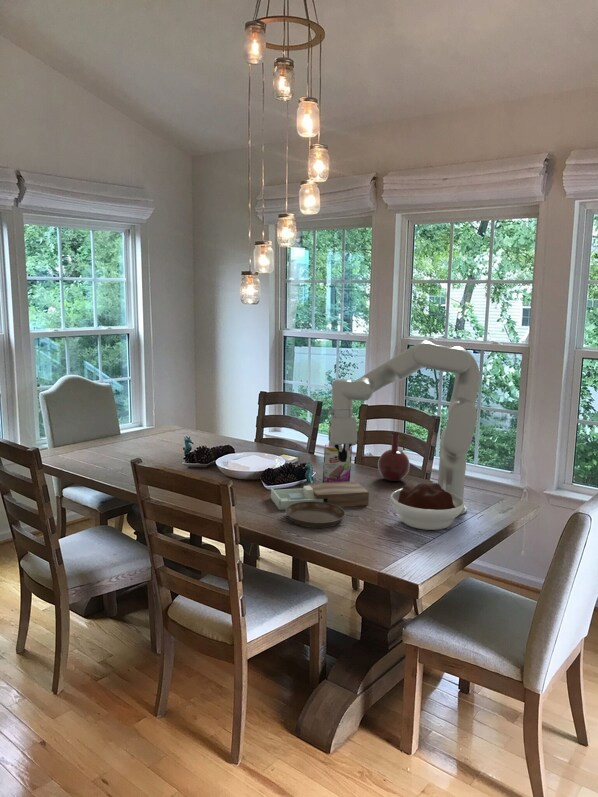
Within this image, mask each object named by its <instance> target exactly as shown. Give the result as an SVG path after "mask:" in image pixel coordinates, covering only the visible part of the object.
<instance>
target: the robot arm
mask: <svg viewBox="0 0 598 797" xmlns="http://www.w3.org/2000/svg"><path fill="white" fill-rule="evenodd" d="M423 368H427V369H431V370H435V371H441V372H445V373H451V374H454V384H453V390H452V394H451V397H450V401H449V404H448V407H447V408H448V409H447V412H448V418H447V422H446V426H445V427H444V428H443V430H442V431H441V435H440V438H439V439H440V440H439V441H440V442H439V443H440V444H439V445H440V446H439V461H438V462H439V463H438V474H437V483H438V484H439V485H440V486H441V488H442V489H443V490H445V491H447V492H451V493H453V494H456V495H458V496H459V497H461V498H462V499H463V500H464V495H465V494H464V493H465V481H466V470H467V469H466V468H467V454H468V451H469V450H470V448H471V445H472V441H473V437H474V433H475V429H476V425H477V419H478V412H477V411H478V410H477V408H476V402H477V397H478V390H479V386H480V376H481V375H480V368H479V365H478V363H477V360H476V359H475V357H474V356H473V355H472V354H471V353H470V352H469V351H468V350H467V349H465V348H464V347H462V346H453V347H448V346H444V345H438V344H435V343H433V342H432V341H429V340H422V341H419V342H418V343H416V344H414V345H412V346H410V347H409V348H407V349H406V350H404V351H402V352H401V353H399V354H398V355H396V356H394V357H392V358H390V359H389V360H387V361H385V362H384V363H383V364H381V365H379V366H377V367H375V368H374V369H372V370H371V371H369V372H367V373H366V374H364V375H363V376H360V377H359V378H358V379H357V380H356V381H355V380H354V381H352V380H350V379H347V378H346V379H345V378H339V379H335V380H333V382H332V383H331V393H332V394H331V399H332V400H331V402H332V404H331V406H332V408H331V410H329V411H328V414H329V415H331V416H330V417H329V418H330V419H329V424H328V441H329V442H328V445H329V446H330V447H335V448H336V449H337V450H338V459H339V460H340V461H341V462H346V459H347V451H348V449H349V448H350V447H351V446H352V447H353V446H356V445H357V442H358V429H357V428H358V427H357V420H356V416H355V415H353V413H354V412H353V410H354V408H353V407H354V406H353V404H354V401H359V402H366V401H368V400H370V399H371V398H372V396H373V393H376V392H377V391H378V390H379V391H380V389H382V388H384V387H385V386H387V385H390V384H393V383H395V382H400V381H402V380H404V379H406V378H408V377H410V376H411V375H413V374H414V373H417V372H418V371H419V370H421V369H423ZM342 446H343V450H342ZM467 510H468V509H467V506H466V505H465V504H464V509H463V510H462V512H461V513H460V514H459V515H462V514H466V513H467Z"/></svg>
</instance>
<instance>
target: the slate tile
mask: <svg viewBox="0 0 598 797" xmlns="http://www.w3.org/2000/svg"><path fill="white" fill-rule="evenodd" d="M303 499H304V496H303V495H302V494H301V493H292V494H288V500H303Z"/></svg>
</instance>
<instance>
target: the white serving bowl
mask: <svg viewBox="0 0 598 797" xmlns="http://www.w3.org/2000/svg"><path fill="white" fill-rule="evenodd" d="M389 501H390V503H391V505H392V508H393V509H394V510H395V511H396V513H397V514H398V517H399V520H400V522H402V523H404V524H405V525H407V526H409V527H412V528H415V529H421V530H426V531H437V530H443V529H446V528H448V527H451V525H452V524H453V523H454V521H455V519H456V518H457V517H458V516H460V515H461V514H460V513H461V512H462V510H463V509H464V505H465V501H464V498H463V499H462V498H461V497H459V496H458V495H456V494H453V493H451V492H447V491H445V490H443V489H442V488H441V486H440V485H439V484H438V482H435V483H434V482H432V483H426V482H420V483H418V484H417V485H414V484H410V483H409V484H406V485H403V487H402V488H400V489H397V490H395V491H393V492H392V493H391V495H390V498H389Z"/></svg>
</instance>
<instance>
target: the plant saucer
mask: <svg viewBox="0 0 598 797" xmlns="http://www.w3.org/2000/svg"><path fill="white" fill-rule="evenodd" d="M285 513H286V515H287V516H288V518H289V519H290V520H291V522H293V523H295V524H296V525H298V524H299V525H298V526H301V527H305V526H306V528H311V527H312V528H311V529H323V528H324V529H325V528H330V527H333V526H336V525H338V524H339V523H340V522H341V521H343V519H344V518H345V516H346V511H345V509H343V508H342V507H338V506H336V505H333V504H329V503H324V502H299V503H295V504H292V505H290V506H288V507H287V508H286V510H285Z"/></svg>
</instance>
